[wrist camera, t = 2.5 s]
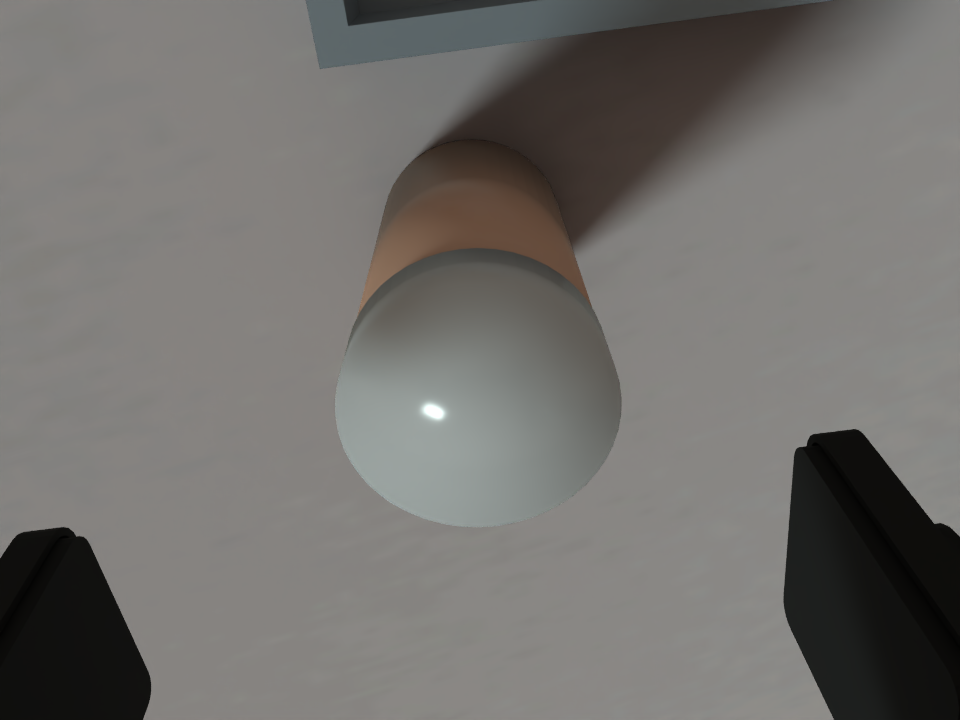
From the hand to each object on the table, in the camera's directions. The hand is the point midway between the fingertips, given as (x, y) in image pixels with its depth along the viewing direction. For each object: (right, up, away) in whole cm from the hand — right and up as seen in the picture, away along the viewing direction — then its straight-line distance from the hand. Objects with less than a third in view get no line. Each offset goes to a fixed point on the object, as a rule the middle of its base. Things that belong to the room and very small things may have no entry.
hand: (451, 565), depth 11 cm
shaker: (0, +6, +13) cm, 14 cm away
